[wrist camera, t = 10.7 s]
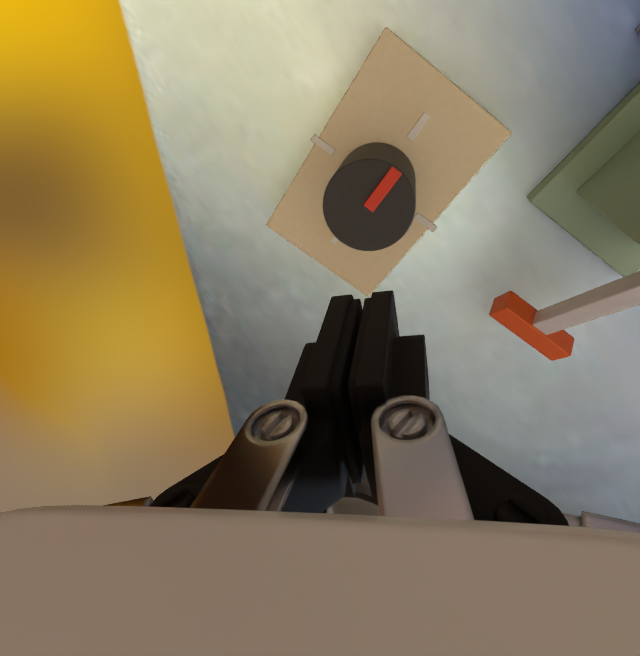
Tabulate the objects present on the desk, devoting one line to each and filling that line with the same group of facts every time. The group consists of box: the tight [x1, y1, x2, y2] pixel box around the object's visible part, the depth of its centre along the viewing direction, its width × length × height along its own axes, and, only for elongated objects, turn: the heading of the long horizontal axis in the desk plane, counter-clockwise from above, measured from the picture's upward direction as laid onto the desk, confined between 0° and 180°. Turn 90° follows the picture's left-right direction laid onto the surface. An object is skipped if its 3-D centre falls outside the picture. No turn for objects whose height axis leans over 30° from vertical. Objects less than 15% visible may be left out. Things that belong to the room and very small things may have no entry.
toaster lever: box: [489, 271, 640, 361], centre depth 20 cm, size 12×5×2 cm
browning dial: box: [323, 142, 416, 251], centre depth 22 cm, size 4×4×5 cm
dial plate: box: [266, 28, 512, 296], centre depth 25 cm, size 12×9×3 cm
